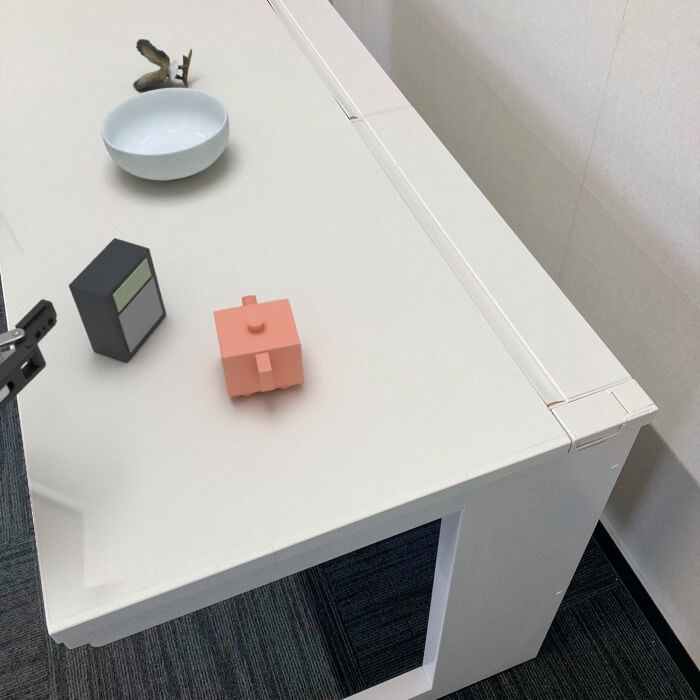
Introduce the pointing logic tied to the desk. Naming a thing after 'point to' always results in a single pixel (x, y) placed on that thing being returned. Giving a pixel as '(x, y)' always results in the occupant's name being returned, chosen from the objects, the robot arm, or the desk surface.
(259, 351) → the pink cube teapot
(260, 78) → the desk surface
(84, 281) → the calculator
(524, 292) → the desk surface
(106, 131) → the cereal bowl
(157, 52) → the eagle figurine
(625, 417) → the desk surface
